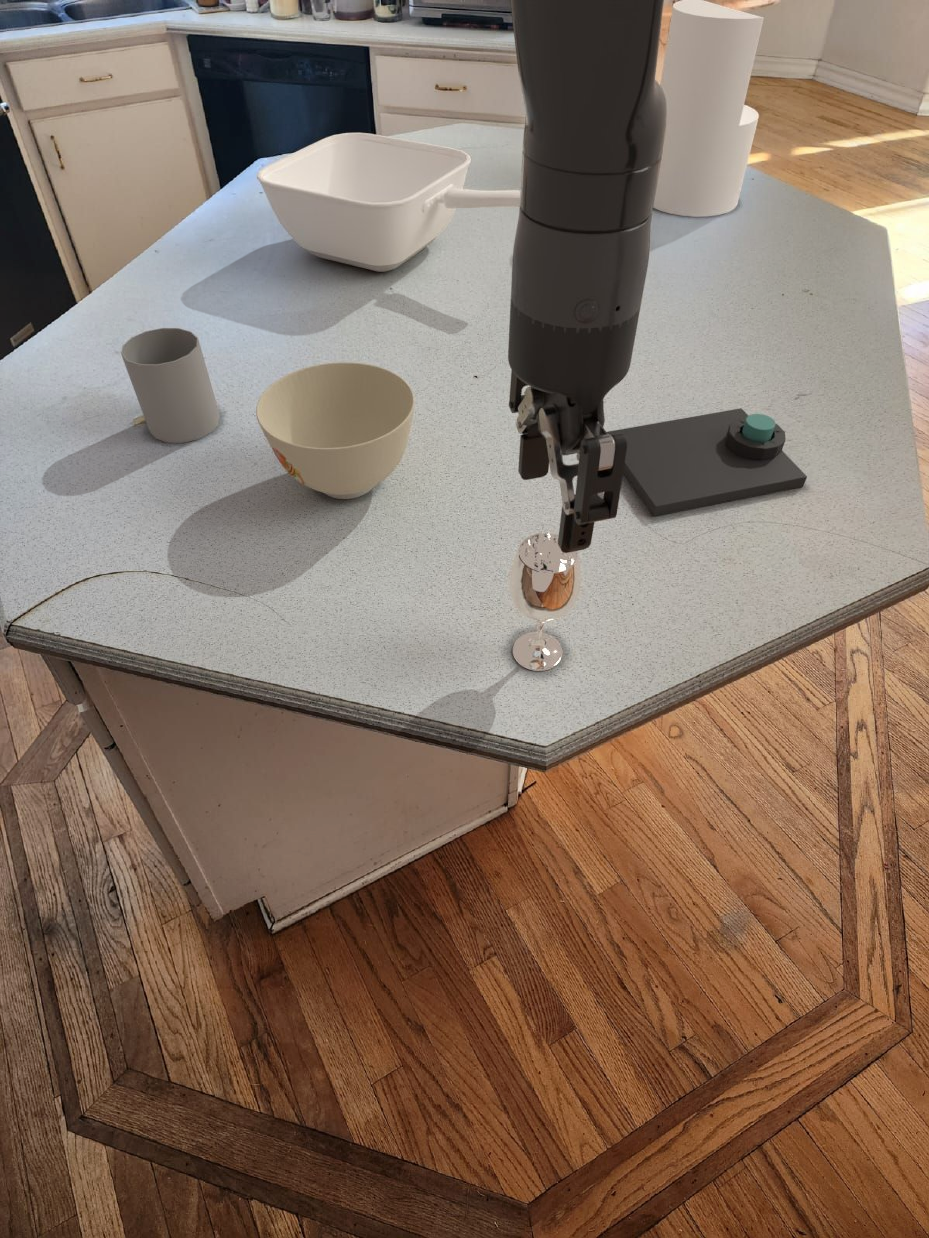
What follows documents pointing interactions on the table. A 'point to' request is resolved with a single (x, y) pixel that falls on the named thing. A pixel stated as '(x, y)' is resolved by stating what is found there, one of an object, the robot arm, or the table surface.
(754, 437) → the power button
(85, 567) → the table surface
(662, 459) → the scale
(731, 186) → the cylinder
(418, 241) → the pan
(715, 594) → the table surface
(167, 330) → the cup
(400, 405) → the bowl
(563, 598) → the wineglass
